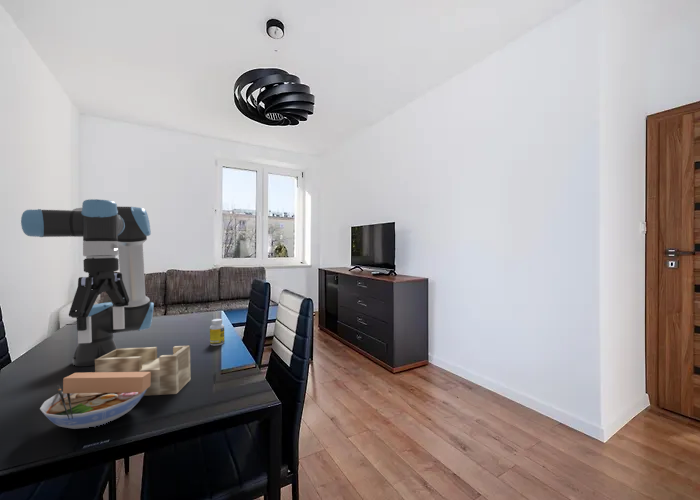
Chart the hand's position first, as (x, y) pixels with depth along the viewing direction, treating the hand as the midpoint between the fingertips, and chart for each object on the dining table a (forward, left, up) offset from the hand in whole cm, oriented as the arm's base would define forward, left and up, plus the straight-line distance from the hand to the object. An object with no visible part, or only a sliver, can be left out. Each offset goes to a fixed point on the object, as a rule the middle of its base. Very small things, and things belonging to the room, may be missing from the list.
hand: (103, 335), depth 87 cm
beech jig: (+1, +18, -23) cm, 29 cm away
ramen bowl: (-1, -1, -23) cm, 23 cm away
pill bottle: (+9, +66, -23) cm, 70 cm away
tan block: (+1, 0, -15) cm, 15 cm away
